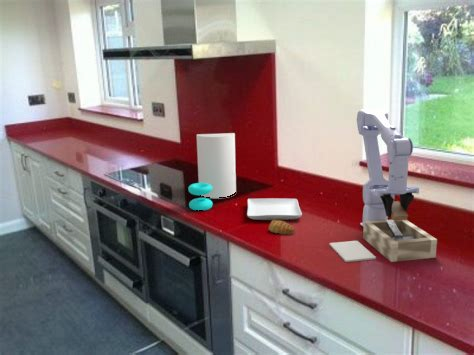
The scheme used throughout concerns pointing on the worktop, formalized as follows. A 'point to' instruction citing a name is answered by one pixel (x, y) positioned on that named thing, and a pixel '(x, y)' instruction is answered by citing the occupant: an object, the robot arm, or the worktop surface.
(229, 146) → the cylinder
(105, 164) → the worktop surface
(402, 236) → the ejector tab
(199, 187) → the donuts
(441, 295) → the worktop surface
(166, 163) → the worktop surface
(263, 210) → the salad plate
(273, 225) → the pastry
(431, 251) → the pocket board
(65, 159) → the worktop surface
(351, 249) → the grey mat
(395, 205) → the walnut bar
